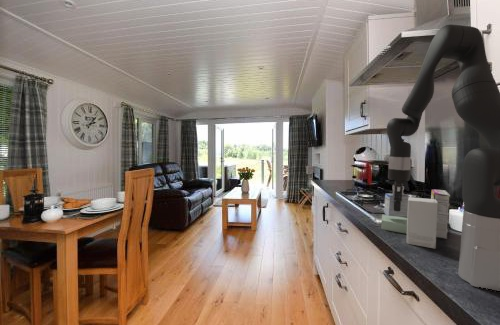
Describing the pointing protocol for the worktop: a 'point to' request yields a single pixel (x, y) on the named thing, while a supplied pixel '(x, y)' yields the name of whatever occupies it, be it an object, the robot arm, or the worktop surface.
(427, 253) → the worktop surface
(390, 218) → the sage block
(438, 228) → the candy bar box
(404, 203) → the medicine box
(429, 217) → the skincare box
